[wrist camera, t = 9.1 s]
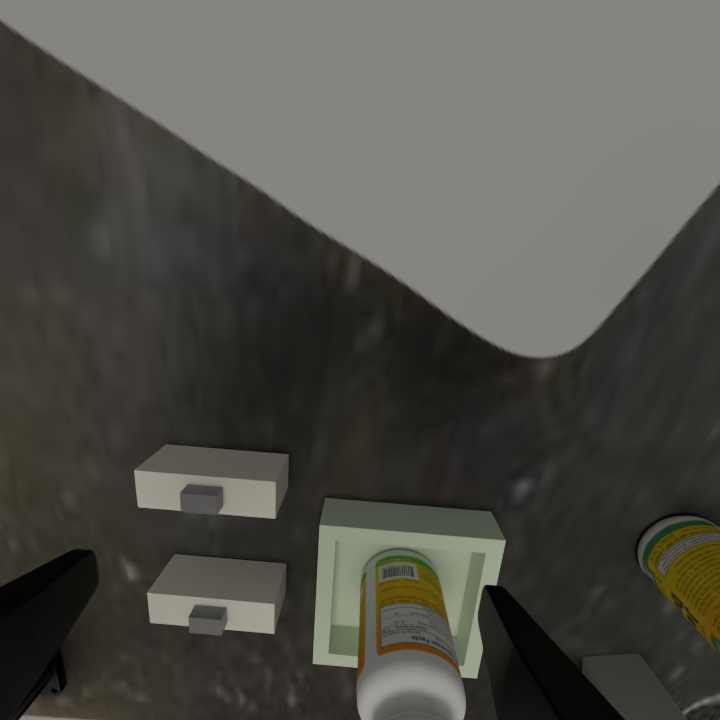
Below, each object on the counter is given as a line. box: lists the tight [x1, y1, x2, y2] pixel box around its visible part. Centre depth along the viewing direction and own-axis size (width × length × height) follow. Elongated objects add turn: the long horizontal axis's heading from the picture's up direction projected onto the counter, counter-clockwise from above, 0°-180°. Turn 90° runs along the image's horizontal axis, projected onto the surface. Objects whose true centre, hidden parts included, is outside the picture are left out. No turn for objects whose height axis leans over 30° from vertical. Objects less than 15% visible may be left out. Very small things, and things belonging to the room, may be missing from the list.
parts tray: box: [313, 498, 506, 678], centre depth 22 cm, size 11×11×2 cm
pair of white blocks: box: [134, 444, 289, 636], centre depth 21 cm, size 11×8×4 cm
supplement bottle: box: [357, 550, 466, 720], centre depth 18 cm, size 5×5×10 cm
